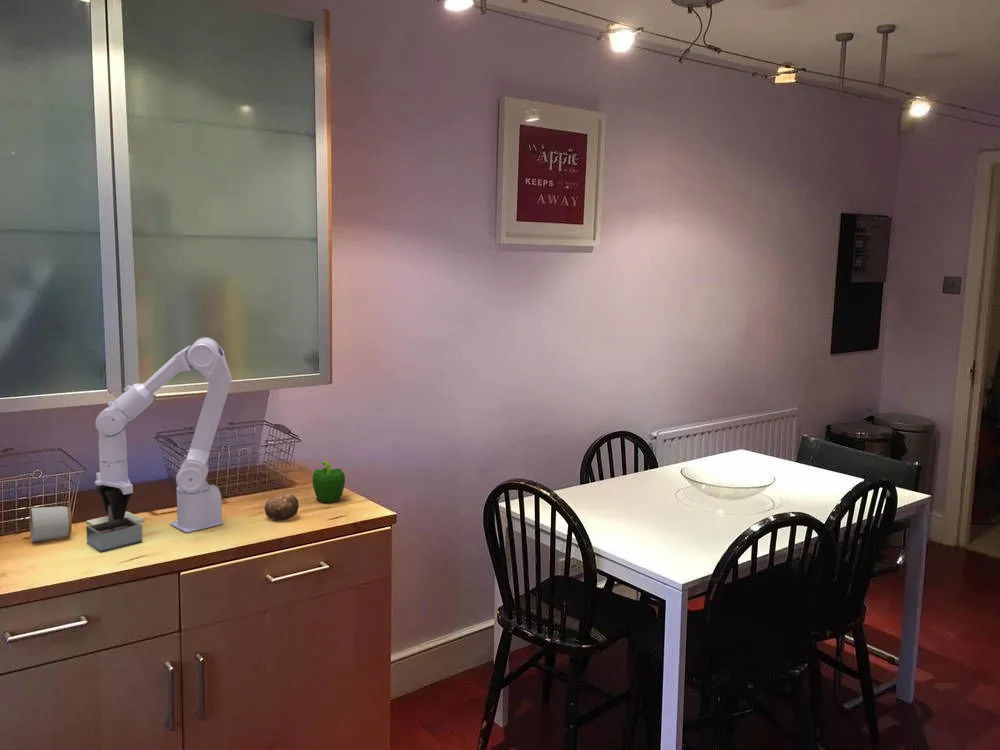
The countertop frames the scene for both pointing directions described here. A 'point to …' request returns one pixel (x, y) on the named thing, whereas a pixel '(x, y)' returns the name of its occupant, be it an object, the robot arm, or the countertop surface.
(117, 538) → the tin
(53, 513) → the ceramic mug
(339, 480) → the bell pepper
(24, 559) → the countertop surface
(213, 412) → the robot arm
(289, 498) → the brown potato
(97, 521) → the lid
